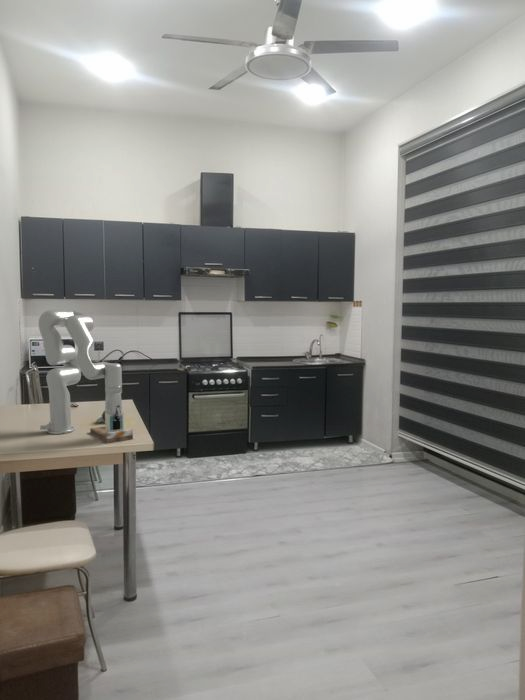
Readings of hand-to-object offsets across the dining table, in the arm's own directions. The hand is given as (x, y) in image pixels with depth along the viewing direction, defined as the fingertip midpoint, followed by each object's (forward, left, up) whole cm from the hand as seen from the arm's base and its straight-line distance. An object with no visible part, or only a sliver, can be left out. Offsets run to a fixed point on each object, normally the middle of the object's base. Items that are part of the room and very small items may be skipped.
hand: (114, 427), depth 240 cm
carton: (0, 0, -2) cm, 2 cm away
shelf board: (0, +5, -5) cm, 7 cm away
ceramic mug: (+9, +34, -5) cm, 36 cm away
